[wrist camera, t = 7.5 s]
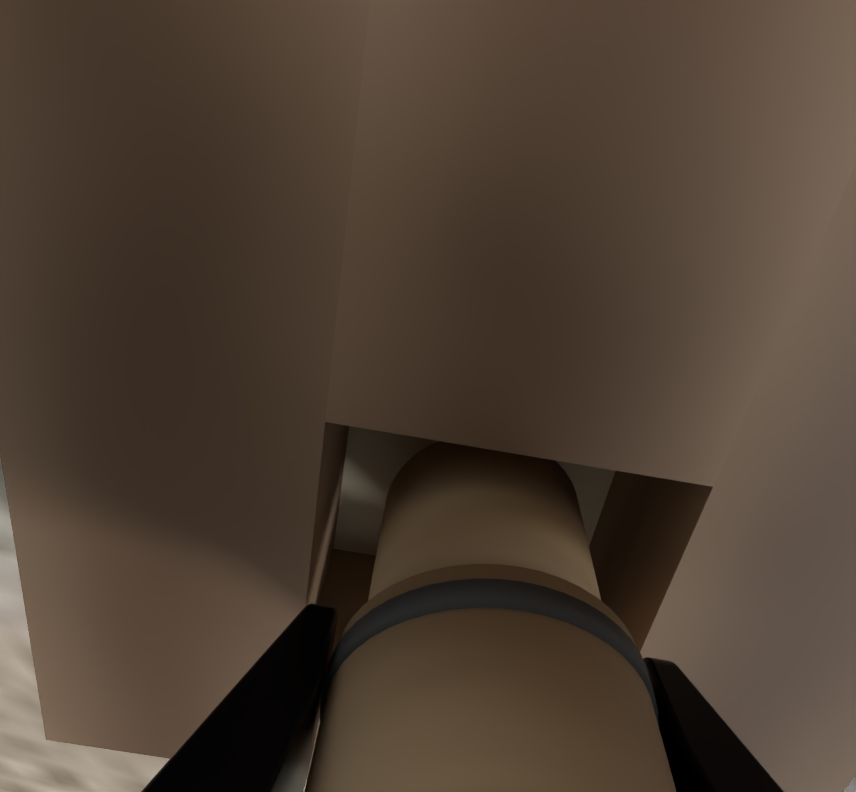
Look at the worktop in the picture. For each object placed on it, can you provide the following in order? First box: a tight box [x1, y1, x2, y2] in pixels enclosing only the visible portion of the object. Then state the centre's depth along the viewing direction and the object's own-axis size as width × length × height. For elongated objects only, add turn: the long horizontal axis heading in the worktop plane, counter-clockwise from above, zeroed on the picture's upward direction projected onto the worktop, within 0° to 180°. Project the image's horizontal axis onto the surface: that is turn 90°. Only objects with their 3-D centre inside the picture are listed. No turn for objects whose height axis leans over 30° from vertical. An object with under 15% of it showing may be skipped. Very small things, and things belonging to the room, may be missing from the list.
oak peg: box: [305, 441, 676, 792], centre depth 8 cm, size 4×4×9 cm
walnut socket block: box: [0, 0, 856, 792], centre depth 10 cm, size 14×20×4 cm
